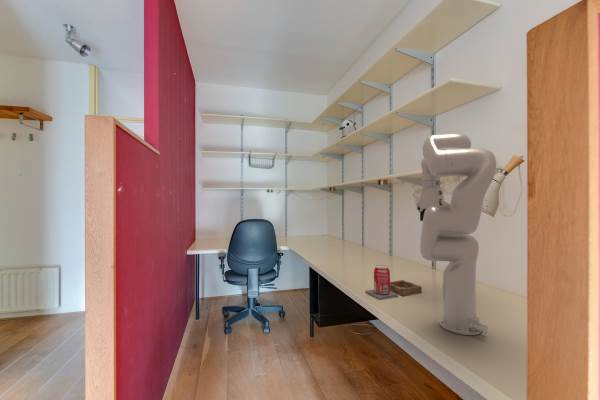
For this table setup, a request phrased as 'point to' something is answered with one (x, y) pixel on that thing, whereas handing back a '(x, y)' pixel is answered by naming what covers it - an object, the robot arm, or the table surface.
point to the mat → (379, 296)
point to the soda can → (381, 279)
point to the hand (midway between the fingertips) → (431, 221)
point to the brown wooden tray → (408, 289)
